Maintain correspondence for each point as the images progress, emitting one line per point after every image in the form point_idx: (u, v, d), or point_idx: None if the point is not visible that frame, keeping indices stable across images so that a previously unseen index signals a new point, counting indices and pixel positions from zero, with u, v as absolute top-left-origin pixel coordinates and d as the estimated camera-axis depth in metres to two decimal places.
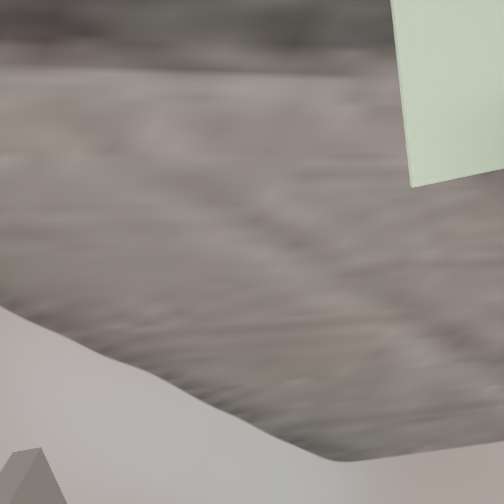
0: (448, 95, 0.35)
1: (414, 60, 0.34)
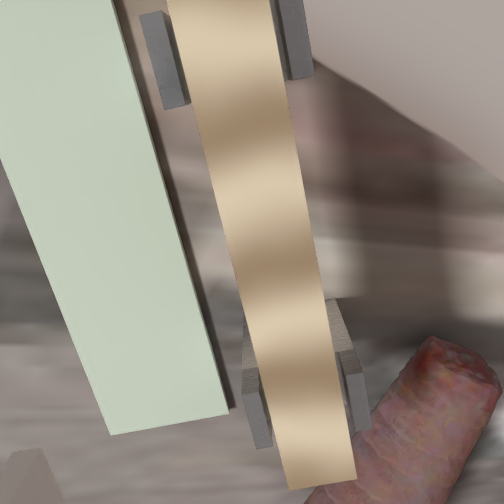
0: (125, 363, 0.37)
1: (85, 336, 0.36)
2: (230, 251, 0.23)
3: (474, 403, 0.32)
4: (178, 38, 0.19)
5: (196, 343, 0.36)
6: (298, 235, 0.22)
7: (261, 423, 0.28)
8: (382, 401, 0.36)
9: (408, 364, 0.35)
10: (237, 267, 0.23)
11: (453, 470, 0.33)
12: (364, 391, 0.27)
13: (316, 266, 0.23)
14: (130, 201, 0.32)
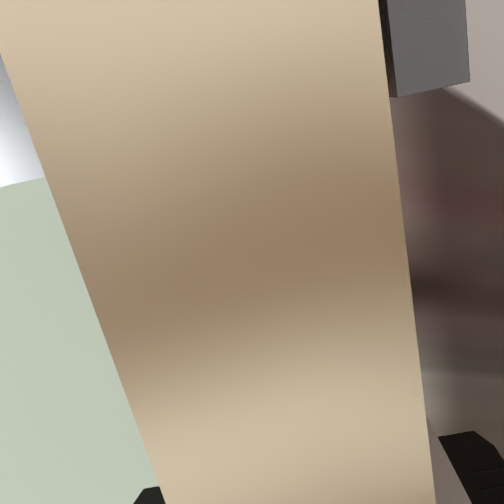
0: None
1: None
2: None
3: None
4: None
5: None
6: None
7: None
8: None
9: None
10: None
11: None
12: None
13: None
14: (35, 310, 0.18)
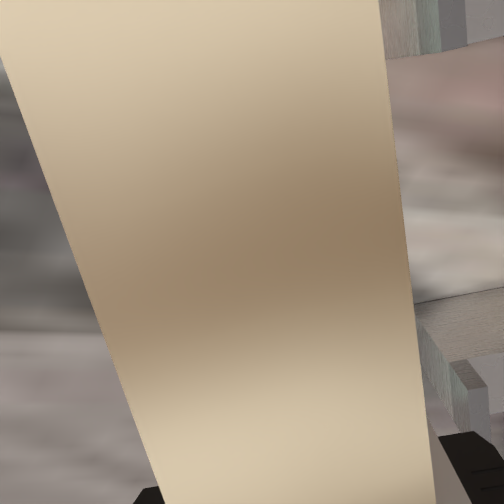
0: None
1: None
2: None
3: None
4: None
5: None
6: None
7: (484, 423, 0.25)
8: None
9: None
10: None
11: None
12: None
13: None
14: None
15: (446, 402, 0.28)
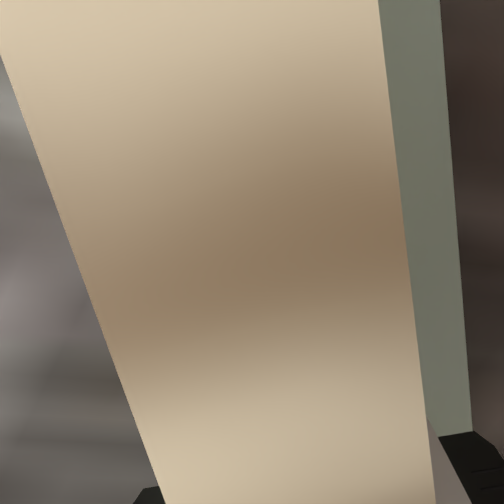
0: None
1: None
2: None
3: None
4: None
5: None
6: None
7: None
8: None
9: None
10: None
11: None
12: None
13: None
14: None
15: None
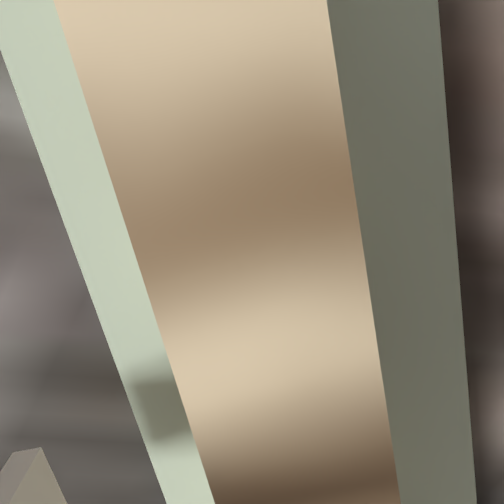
0: None
1: None
2: (207, 471, 0.10)
3: None
4: None
5: None
6: (360, 443, 0.10)
7: None
8: None
9: None
10: (223, 500, 0.11)
11: None
12: None
13: (396, 500, 0.10)
14: None
15: None
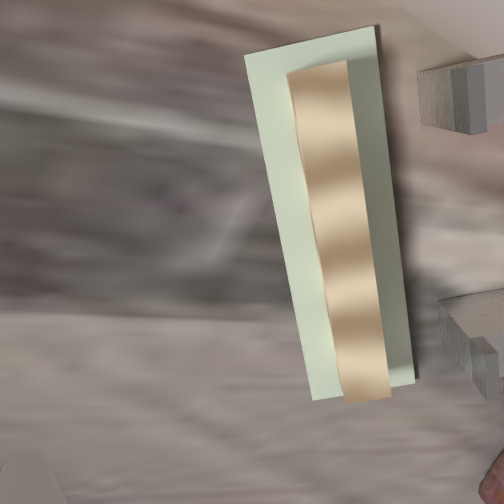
0: None
1: (307, 315, 0.44)
2: (319, 244, 0.37)
3: None
4: (299, 121, 0.34)
5: (397, 322, 0.44)
6: (361, 235, 0.37)
7: (495, 379, 0.35)
8: None
9: None
10: (322, 254, 0.38)
11: None
12: None
13: (371, 254, 0.38)
14: None
15: (467, 369, 0.39)
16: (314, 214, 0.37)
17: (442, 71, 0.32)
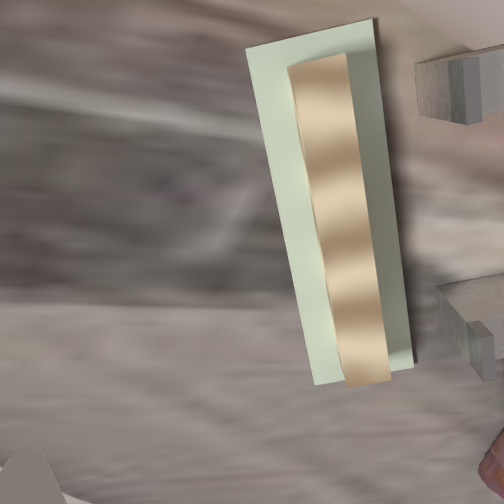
0: None
1: (309, 302, 0.45)
2: (320, 232, 0.38)
3: None
4: (300, 113, 0.35)
5: (396, 308, 0.45)
6: (361, 223, 0.38)
7: (491, 361, 0.37)
8: None
9: None
10: (324, 242, 0.39)
11: None
12: None
13: (371, 242, 0.39)
14: None
15: (464, 352, 0.41)
16: (315, 203, 0.38)
17: (439, 63, 0.33)
